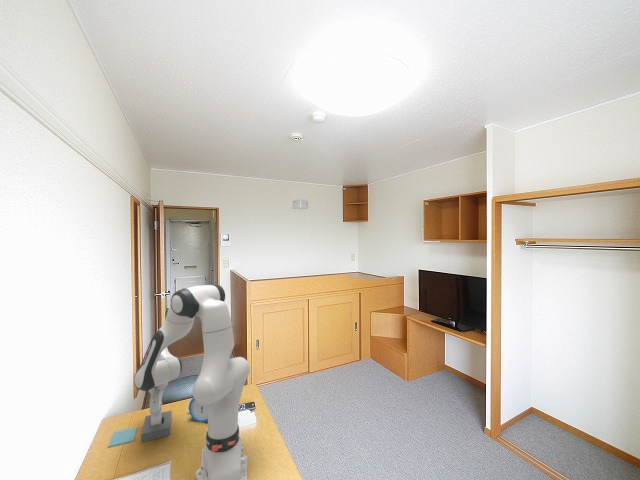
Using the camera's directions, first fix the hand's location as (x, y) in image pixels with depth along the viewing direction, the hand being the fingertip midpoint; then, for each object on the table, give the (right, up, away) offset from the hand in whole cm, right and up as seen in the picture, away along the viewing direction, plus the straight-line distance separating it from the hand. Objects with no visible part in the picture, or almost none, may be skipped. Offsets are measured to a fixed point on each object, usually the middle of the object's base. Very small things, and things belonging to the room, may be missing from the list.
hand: (156, 412), depth 128 cm
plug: (0, -6, 0) cm, 6 cm away
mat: (-11, -8, -5) cm, 15 cm away
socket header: (0, -8, 0) cm, 8 cm away
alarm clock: (+18, -9, +8) cm, 22 cm away
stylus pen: (+10, -9, +19) cm, 23 cm away
